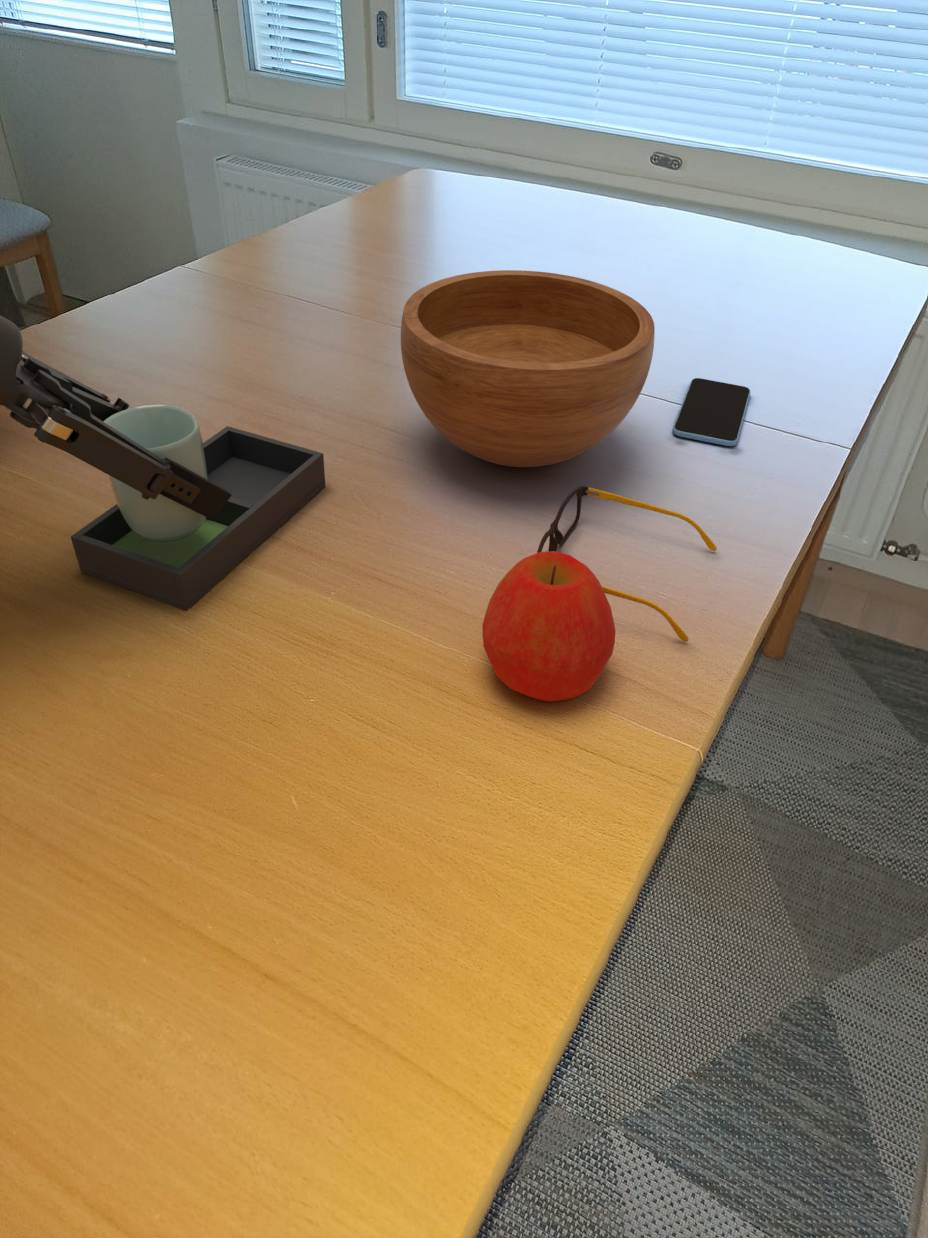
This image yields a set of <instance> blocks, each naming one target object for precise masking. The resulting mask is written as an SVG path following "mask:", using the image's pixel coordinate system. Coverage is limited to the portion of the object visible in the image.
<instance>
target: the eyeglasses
mask: <svg viewBox="0 0 928 1238" xmlns="http://www.w3.org/2000/svg"><path fill="white" fill-rule="evenodd" d="M575 495H576V514H575V518H574V520H573V522H572V524H571V526H570V527H569V528H568V530H567V531H566V532H565V534H564V535H563V533H562V532H561V531H560V529H559V523H560V520H561V518H562V514H563V512H564V510H565V509H566V507H567V505H568V503H569V502H570V500H571V499H573V497H574V496H575ZM584 496H589V497H594V498H597V499H601V500H605V501H612V502H616V503H620V504H624V505H628V506H631V507H634V508H635V507H636V508H640V509H643V510H648V511H652V512H654V513H655V512H656V513H659V514H664V515H667V516H671V517H675V518H678V519H680V520H683V521H684V522H686V523H688V524H689V525H690V526H692V527H693V528H694V529H695V530H696V531H697V532H698V534H699V536H700V537H701V539H702V541H703V542H704V543H705V545H706V546H707V548H708V549H709V550H710V551H711V552H716V551H717V549H718V548H717V546H716V544H715V543H714V542H713V541H712V539H711V538H710V537H709V536H708V534H707V533H706V532H705V531H704V530H703V528H701V526H700V525H699V524H698V523H697V522H696V521H694V519H692V518H690V517H688V516H687V515H684V514H683V513H679V512H676V511H673V510H669V509H666V508H662V507H659V506H656V505H652V504H649V503H645V502H642V501H638V500H635V499H632V498H628V497H626V496H622V495H619V494H615V493H613V492H612V493H611V492H608V491H604V490H601V489H597V488H593V487H588V486H586V485H580V486H579V487H576V488H575V489H573V491H571V493H569V494H568V495H567V496H566V498H565V499H564V500H563V502H562V503H561V505H560V506H559V508H558V511H557V514H556V516H555V519H554V520H553V521H552V522H551V524H550V525H549V529H548V530H547V531H546V532H545V533H544V535H543V536H542V538H541V540H540V542H539V545H538V548H537V551H536V553H539V552H543V548H544V546H545V543H546V541H547V540H548V538H549V541H548V551H547V552H550V551H555V552H558V548H559V546H562V545H564V544H565V542H566V541H567V540H568V538H569V536H570V535H571V533H572V532H573V531H574V529H575V528H576V527H577V525H578V523H579V520H580V517H581V512H582V511H581V510H582V499H583V497H584ZM601 587H602V589H603V591H604V593H605V595H606V594H607V595H610V596H613V597H617V598H622V599H625V600H628V601H632V602H636V603H638V604H643V605H645V606H647V607H649V608H651V609H653V610H655V611H656V612H658V613H659V614H660V615H662V616H663V617H664V619H666V621H667V622H668V624H669V625H670V626H671V629H672V630H673V631H674V633H675V634H676V635H677V637H678V638H679V639H680V640H681V641H682V642H688V641H689V636H688V635H687V633H686V631H684V630H683V628H682V627H681V626H680V625H679V624H678V623H677V622H676V621H675V620H674V619H673V617H672V616H671V615H670V614H669V613H668V612H667V611H666V610H665V609H664V608H662V607H661V606H659V605H658V604H657V603H654V602H651V601H649V600H647V599H644V598H641V597H638V596H636V595H632V594H628V593H626V592H622V591H620V590H617V589H613V588H610V587H607V586H603V585H601Z"/></svg>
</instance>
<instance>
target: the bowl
mask: <svg viewBox="0 0 928 1238" xmlns="http://www.w3.org/2000/svg"><path fill="white" fill-rule="evenodd" d="M403 306H404V307H403V310H402V315H401V324H400V351H401V352H400V353H401V360H402V364H403V371H404V373H405V377H406V380H407V383H408V385H409V389H410V391H411V393H412V395H413V396H414V399H415V402H416V403H417V405H418V407H419V408H420V410H421V411H422V413H423V414H424V416H425V417H426V419H428V421H429V423H431V425H432V426H433V427H434V428H435V429H436V430H437V431H438V432H439V433H440V434H441V435H442V436H443V437H444V438H446V439H447V440H448V441H449V442H450V443H452V444H453V445H455V446H456V447H457V448H458V449H460V450H462V451H463V452H466V453H467V454H469V455H470V456H473V457H475V458H478V459H479V460H481V461H486V462H489V463H491V464H495V465H500V466H506V467H512V468H514V467H515V468H537V467H544V466H550V465H555V464H558V463H561V462H562V463H563V462H565V461H568V460H570V459H572V458H575V457H577V456H579V455H582V454H584V453H585V452H587V451H589V450H590V449H592V448H593V447H596V446H597V445H598V444H599V443H601V442H602V441H603V440H604V439H606V438H607V437H608V436H609V435H611V434H612V433H613V432H614V431H615V430H616V428H618V427H619V426H620V424H621V423H622V422H623V421H624V420H625V418H626V417H627V416H628V415H629V413H630V412H631V410H632V409H633V408H634V406H635V404H636V402H637V400H638V399H639V397H640V395H641V393H642V391H643V388H644V387H645V384H646V382H647V378H648V376H649V373H650V369H651V365H652V360H653V356H654V348H655V336H656V335H655V333H656V332H655V328H656V327H655V322H654V319H653V317H652V315H651V314H650V312H649V311H648V310H647V308H646V307H645V306H644V305H642V304H641V303H640V302H638V300H635V298H632V297H631V296H629V295H628V294H626V293H623V292H621V291H620V290H618V289H616V288H613V287H610V286H607V285H605V284H602V283H599V282H596V281H593V280H590V279H585V278H581V277H577V276H573V275H566V274H561V273H555V272H554V273H553V272H547V271H536V270H515V269H508V270H507V269H505V270H504V269H503V270H485V271H475V272H469V273H462V274H457V275H453V276H449V277H446V278H442V279H438V280H435V281H433V282H431V283H429V284H427V285H425V286H422V287H421V288H419V289H418V290H416V291H414V293H412V294H411V296H409V297H408V299H407V300H406V302H405V303H404V305H403Z"/></svg>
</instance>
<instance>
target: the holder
mask: <svg viewBox="0 0 928 1238" xmlns="http://www.w3.org/2000/svg"><path fill="white" fill-rule="evenodd" d="M203 448H204V454H205V461H206V468H207V476H208V480H209V481H211V482H213V483H215V484H216V485H218V486H220V487H222V488H224V489H226V490H227V491H229V492H230V493H231V495H232V496H231V497H230V498H229V500H228V501H227V503H226V504H225V505H224V507H223V508H222V510H221V511H220V512H219V514H218V515H217V517H216V518H215V519H214V521H213V520H211V519H209V518H207V517H206V519H205V521H204V523H203V524H202V526H201V527H200V528H199V529H198V530H197V531H196V532H194V533H193V534H191V535H189V536H188V537H185V538H183V539H180V540H177V541H173V542H165V543H160V542H153V541H149V540H146V539H144V538H143V537H141V536H139V535H138V534H136V533H135V532H134V531H133V530H132V529H131V528H130V527H129V525H128V524H127V523H126V521H125V520H124V518H123V516H122V514H121V512H120V510H119V507H118V505H117V503H116V504H115V505H113V506H112V507H110V508H109V509H108V510H105V512H103V513H102V514H100V515H99V516H97V517H96V518H95V519H93V520H92V521H90V522H89V523H88V524H86V525H85V526H83V527H82V528H81V529H79V530H78V531H76V532H75V533H74V534H72V535H71V536H70V540H71V543H72V547H73V549H74V555H75V557H76V560H77V564H78V567H79V570H80V572H81V573H83V574H84V575H85V574H86V575H88V576H90V577H93V578H97V579H100V580H102V581H104V582H107V583H110V584H113V585H116V586H119V587H122V588H123V589H127V590H129V591H133V592H135V593H137V594H141V595H143V596H146V597H149V598H152V599H155V600H157V601H159V602H162V603H166V604H168V605H170V606H174V607H176V608H179V609H181V610H185V611H188V610H189V609H190V608H192V607H193V605H195V604H196V603H197V602H199V600H200V599H202V598H203V597H204V596H205V595H206V594H207V593H208V592H209V591H210V590H212V589H213V588H214V587H215V586H216V585H217V584H218V583H220V582H221V581H222V580H223V579H224V578H225V577H226V576H228V575H229V574H230V573H231V572H232V571H233V570H234V569H235V568H236V567H237V566H238V565H240V564H241V562H243V561H244V560H245V559H246V558H248V557H249V556H250V555H251V554H252V553H253V552H254V551H255V550H256V549H257V548H258V547H260V546H261V545H262V544H263V543H264V542H265V541H266V540H268V538H270V537H271V536H272V535H273V534H274V533H275V532H277V530H279V529H280V528H281V527H282V526H283V525H284V524H285V523H286V522H287V521H288V520H290V519H291V518H292V517H293V516H294V515H295V514H297V513H298V512H299V511H300V510H301V509H302V508H303V507H304V506H305V505H307V504H308V503H309V502H311V500H312V499H313V498H315V496H317V495H318V494H319V493H321V491H322V490H323V489H324V488H326V487H327V486H326V474H325V473H326V472H325V459H324V453H323V452H320V451H317V450H313V449H309V448H306V447H303V446H299V445H296V444H292V443H288V442H285V441H281V440H277V439H276V438H275V439H274V438H271V437H267V436H264V435H260V434H257V433H253V432H250V431H247V430H244V429H243V430H242V429H239V428H235V427H232V426H229V425H227V426H225V427H224V428H222V429H221V430H220V431H218V432H216V433H215V434H214V435H212V436H211V437H209V438H208V439H207V440H206V441H204V442H203Z"/></svg>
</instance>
